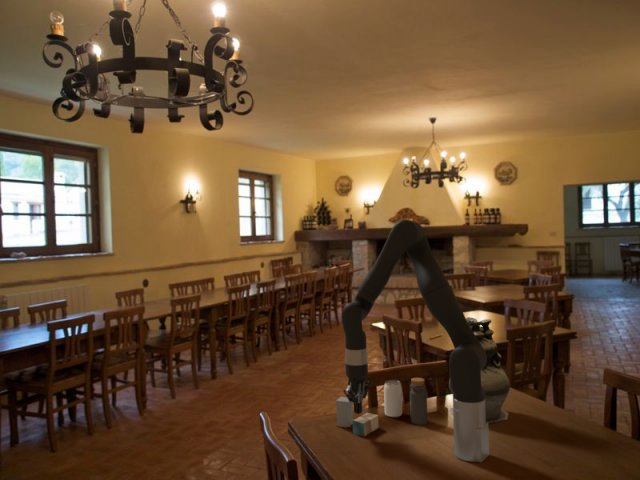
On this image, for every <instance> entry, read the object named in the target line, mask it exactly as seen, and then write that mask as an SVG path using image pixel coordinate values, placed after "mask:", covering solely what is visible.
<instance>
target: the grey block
mask: <svg viewBox="0 0 640 480" xmlns="http://www.w3.org/2000/svg"><path fill="white" fill-rule="evenodd" d="M335 403H336V404H335V405H336V427H342V428H347V427H349V428H351V426H353V420H354V403H353V402H350V401H349V400H348V398H347V396H339V397H338V398H337V399H336V400H335Z"/></svg>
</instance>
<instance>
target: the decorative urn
mask: <svg viewBox="0 0 640 480" xmlns="http://www.w3.org/2000/svg"><path fill="white" fill-rule="evenodd" d="M465 318H466V320H467V322H468V324H469V326H470V328H471V329H472V331H473V333H474V334H475V336H476V337H477V339H478V341H479V342H480V344H481V345H482V347H483V349H484V351H485V353H486V356H487V362H486V365H485V367H484V368H483V369H482V370H481V386H482V388H483V389H484V390H485V415H486V423H488V424H492V423H497V422H500V421H505V420H508V416H509V413H508V412H506V411H504V409H502V408H503V405H504V403H505V401H506V399H507V397H508V394H509V393H510V389H511V384H510V380H509V377H508V376H507V374H506V372H505V371H504V370H503V369H502V368H501V361H502V359H503V357H502V355H501V354H500V353H499V352H498V345H497V343H496V342H495V340H494V338H493V335H494V333H495V331H494V330H492V329H491V328H490V324H491V323H492V319H491V318H489V319H487V318H486V319H482V320H479V321H478V319H477V318H475V317H469V316H467V317H465ZM448 381H449V382H448V388H449V390H450V392H451V394H452V395H453V391H452V389H451V386H450V378H449V379H448ZM448 412H449V413H451V414H453V407H452V408H451V407H450V409H449V411H448Z"/></svg>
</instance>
